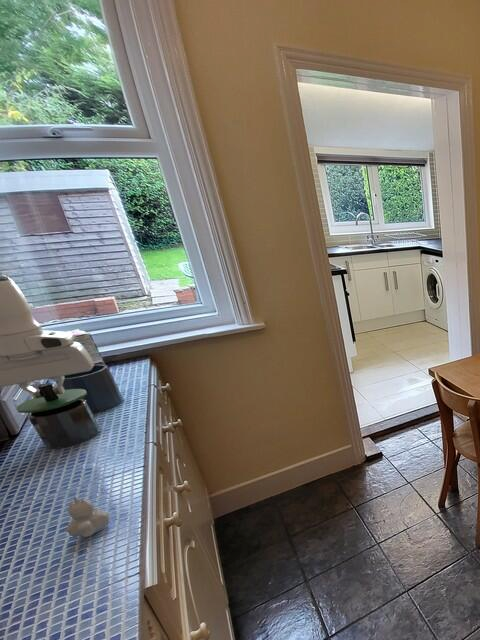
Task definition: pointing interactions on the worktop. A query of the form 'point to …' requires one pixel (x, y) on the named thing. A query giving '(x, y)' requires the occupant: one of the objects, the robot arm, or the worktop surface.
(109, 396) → the tin
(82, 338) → the candy bar box
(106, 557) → the worktop surface
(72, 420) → the cup
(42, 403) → the lid
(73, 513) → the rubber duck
